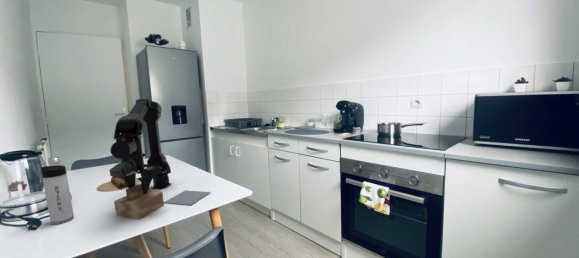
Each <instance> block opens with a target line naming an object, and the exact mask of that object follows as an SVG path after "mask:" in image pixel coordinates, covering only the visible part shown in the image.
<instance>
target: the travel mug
mask: <svg viewBox="0 0 579 258" xmlns="http://www.w3.org/2000/svg"><path fill="white" fill-rule="evenodd" d="M65 167H66V166H65V165H64V166H61V165H56V166H49V165H45V166H41V167H40V171H41V175H42V181H43V182H42V183H43V189H44V193H45V199H46V204H47V209H48V216H49V220H50V224H51V225H54V224H55V225H61V224H64V222H65V223H67V221H68V222H69V221H71V220H73V219H74V218H75V215H74V210H73V209H74V208H73V203H72V202H73V201H71V196H72V195H71V196H70V193H71V192H70V186H69V185H70V184H69V179H68V172H67V173H66V169H67V167H66V168H65ZM60 223H61V224H60Z"/></svg>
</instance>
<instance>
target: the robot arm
mask: <svg viewBox="0 0 579 258" xmlns="http://www.w3.org/2000/svg"><path fill="white" fill-rule="evenodd" d="M162 110H163V109H162V106H161V105H160V104H159V102H157V101H154V100H153V101H152V100H151V99H150V98H138V99H135V104H134V105H133V107H132V108H131V110H130V111H129V113H128V114H126V115H124V116H122V117H120V118H119V119H118V120H117V122H116V123H115V129H114V134H113V140H115V142H114V143H113V144H112V145H111V146H110V149H109V151H110V154H111V155H112V156H113V157H114V158H115V159H118V160H120V161H121V162H118V163H117V164H115V165H114V166H113V167H111V168H110V169H109V170H108V171H109V176H110V177H112V176H113V178H119V179H121V180H123V181H124V182H125V184H126V185H127V189H128V188H131V187H133V186H136V185H135V182H136V178H137V177H136V176H137V174H138V175H139V174H140V177H138V178H137V180H138V181H139V182H140V183H141V185H142V190H143V194H146V193H147V191H148V189H149V186H150V185H151V183H153V185H152V186H151V187H150V189H158V190H162V189H165V188H167V187H169V186H172V183H171V182H170V178H169V174H171V172H172V171H171V166H170V164H169V163H168V161H167V156H165V155H164V153H162V145H161V138H160V137H161V135H160V128H159V120H160V119H161V117H162ZM144 123H145V124H146V130H147V132H146V133H147V138H148V139H147V140H148V146H149V154H150V155H149V157H148V159H147V160H146V163H145V160H144V158H145V157H146V155H147V153H144V152H143V144H142V135H143V132H144V128H145V125H144Z"/></svg>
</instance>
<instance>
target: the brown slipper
mask: <svg viewBox="0 0 579 258" xmlns="http://www.w3.org/2000/svg"><path fill="white" fill-rule="evenodd" d="M110 182H112V183H113V184H114V185H115V186H116V187H117V188H118V189H121V190H123V189H128V187H127V185H126V184H125V182H124V181H123V180H121V179H119V178H113V176H111V179H110ZM136 185H138V183H137V182H136V181H135V186H136Z"/></svg>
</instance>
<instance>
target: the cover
mask: <svg viewBox="0 0 579 258" xmlns="http://www.w3.org/2000/svg"><path fill="white" fill-rule="evenodd" d="M137 184H138V183H137ZM125 193H126V195H125V196H123V197H120V198H118V199H115V200H114V201H113V202H114V208H115V209H114V210H115V214H116V215H115V216H116V217H119V218H120V217H121V218H128V219H137V220H141V219H143V218H145V217H147V216H149V215H151V214H152V213H154V212H155V211H157V210H159V209H161V208H163V207H164V206H165V203H164V202H165V201H164V196H163V195H164V194H163V191H161V190H160V191H158V190H151V187H150V186H149V189H148V191H147V193H146V194H143V190H142V185H141V182H140V183H139V184H138V185H135V186H133V187H131V188H128V187H127V188H125Z"/></svg>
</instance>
